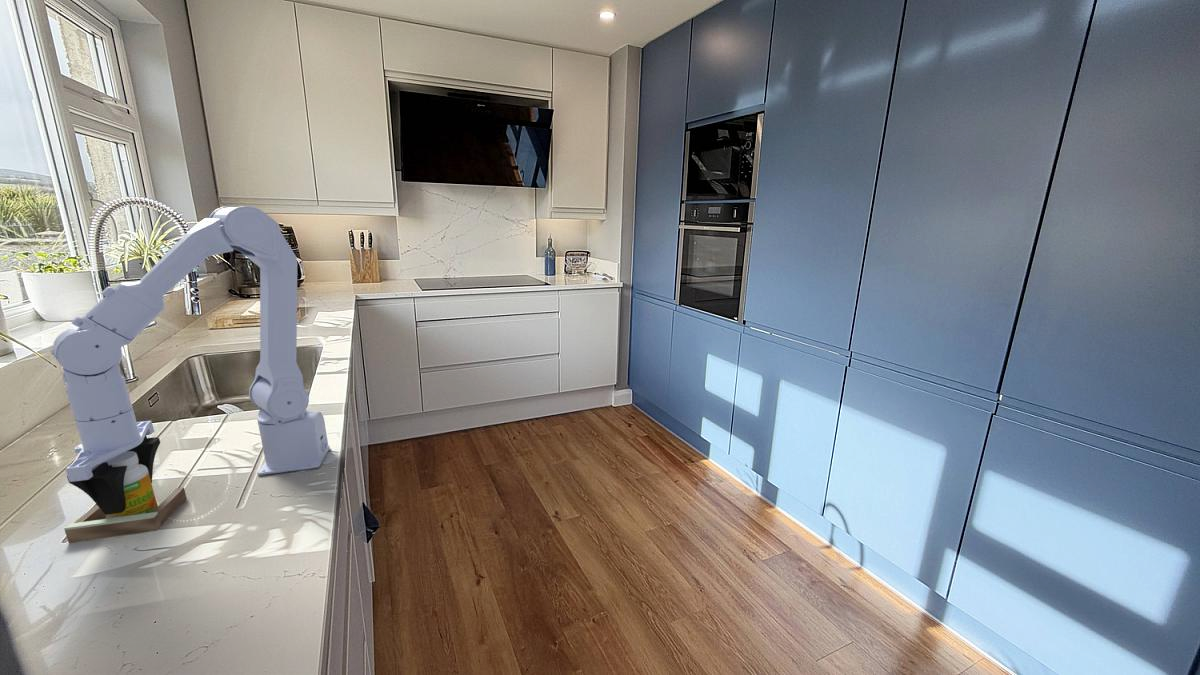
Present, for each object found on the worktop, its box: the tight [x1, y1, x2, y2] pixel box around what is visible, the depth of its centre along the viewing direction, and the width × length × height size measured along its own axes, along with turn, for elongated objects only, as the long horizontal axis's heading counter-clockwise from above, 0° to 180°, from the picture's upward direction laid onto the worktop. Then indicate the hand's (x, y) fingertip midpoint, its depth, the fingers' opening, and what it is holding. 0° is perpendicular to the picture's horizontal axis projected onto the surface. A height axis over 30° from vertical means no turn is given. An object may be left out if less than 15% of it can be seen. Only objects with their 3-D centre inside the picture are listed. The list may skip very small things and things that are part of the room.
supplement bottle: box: [105, 451, 159, 519], centre depth 70 cm, size 5×5×10 cm
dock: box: [64, 487, 188, 544], centre depth 71 cm, size 10×8×2 cm
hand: (129, 499), depth 71 cm, fingers open, 6 cm apart
